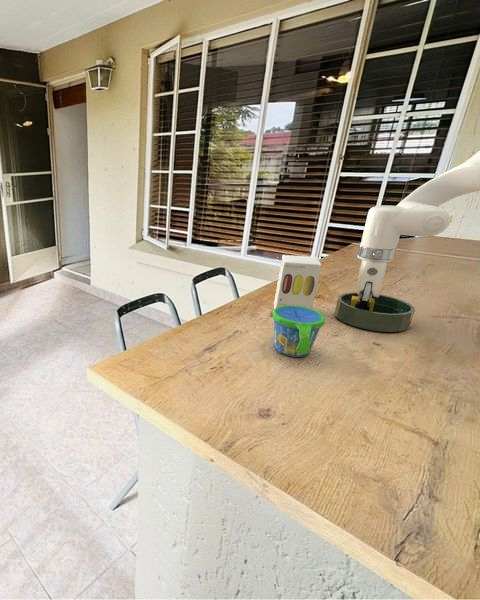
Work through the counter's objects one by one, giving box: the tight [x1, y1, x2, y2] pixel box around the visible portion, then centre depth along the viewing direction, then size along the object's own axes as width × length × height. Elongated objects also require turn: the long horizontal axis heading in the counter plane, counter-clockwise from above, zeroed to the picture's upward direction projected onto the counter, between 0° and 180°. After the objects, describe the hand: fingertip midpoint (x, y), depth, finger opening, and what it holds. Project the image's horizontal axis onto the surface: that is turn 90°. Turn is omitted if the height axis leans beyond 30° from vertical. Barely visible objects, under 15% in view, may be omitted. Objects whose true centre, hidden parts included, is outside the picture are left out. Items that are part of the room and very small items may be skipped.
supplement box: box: [273, 254, 322, 310], centre depth 104 cm, size 10×9×17 cm
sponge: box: [350, 296, 374, 312], centre depth 100 cm, size 5×3×6 cm, turn 52°
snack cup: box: [272, 306, 326, 358], centre depth 85 cm, size 16×10×10 cm
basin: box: [333, 291, 416, 333], centre depth 98 cm, size 17×17×6 cm
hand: (359, 314), depth 100 cm, fingers closed on sponge, 3 cm apart
